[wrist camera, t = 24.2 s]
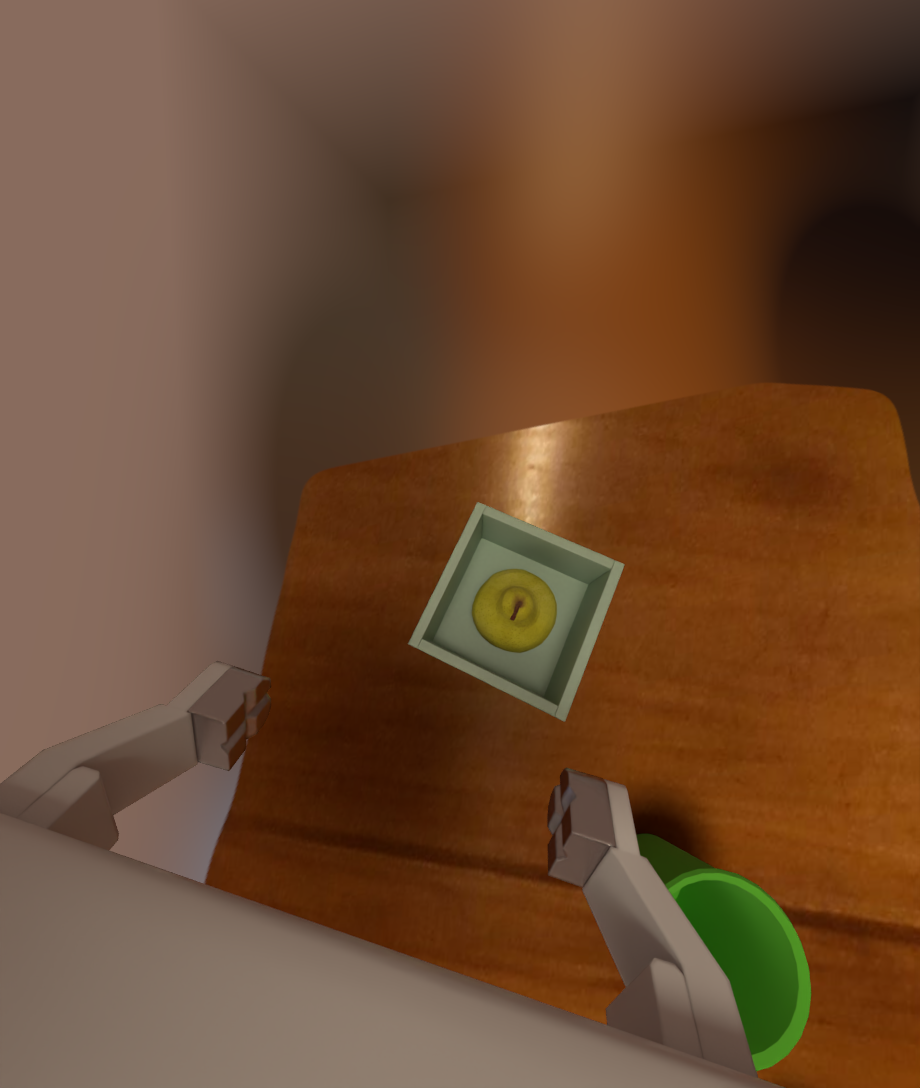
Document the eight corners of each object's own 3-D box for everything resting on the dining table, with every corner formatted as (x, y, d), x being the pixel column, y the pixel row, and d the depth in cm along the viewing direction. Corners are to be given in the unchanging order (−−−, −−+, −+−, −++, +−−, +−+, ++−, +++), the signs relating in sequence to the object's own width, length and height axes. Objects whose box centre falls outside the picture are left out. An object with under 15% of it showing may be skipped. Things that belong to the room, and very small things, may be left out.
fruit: (504, 563, 40) (515, 524, 28) (563, 608, 38) (600, 586, 27) (459, 620, 38) (451, 604, 27) (518, 668, 37) (537, 673, 25)
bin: (421, 646, 39) (407, 643, 31) (477, 530, 41) (477, 501, 34) (547, 709, 37) (564, 721, 29) (596, 582, 39) (624, 564, 32)
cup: (604, 944, 32) (666, 1087, 21) (579, 812, 34) (624, 881, 24) (719, 929, 32) (839, 1063, 21) (686, 797, 34) (779, 860, 24)
